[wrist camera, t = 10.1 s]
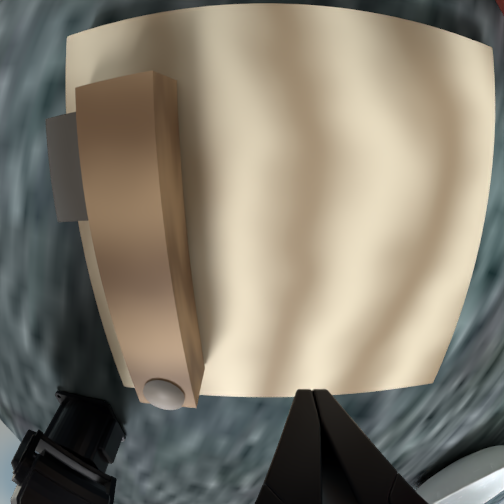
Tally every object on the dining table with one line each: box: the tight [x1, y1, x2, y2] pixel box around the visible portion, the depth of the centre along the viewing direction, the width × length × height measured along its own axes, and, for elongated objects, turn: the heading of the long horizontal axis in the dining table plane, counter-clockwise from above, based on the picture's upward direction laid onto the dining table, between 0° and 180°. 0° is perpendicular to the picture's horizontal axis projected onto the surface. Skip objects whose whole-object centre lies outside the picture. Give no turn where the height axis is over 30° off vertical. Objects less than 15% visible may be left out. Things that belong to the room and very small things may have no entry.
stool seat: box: [46, 3, 495, 397], centre depth 16 cm, size 24×24×5 cm
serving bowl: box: [416, 445, 504, 504], centre depth 29 cm, size 21×21×7 cm
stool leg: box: [75, 71, 205, 410], centre depth 15 cm, size 17×4×4 cm, turn 2°
